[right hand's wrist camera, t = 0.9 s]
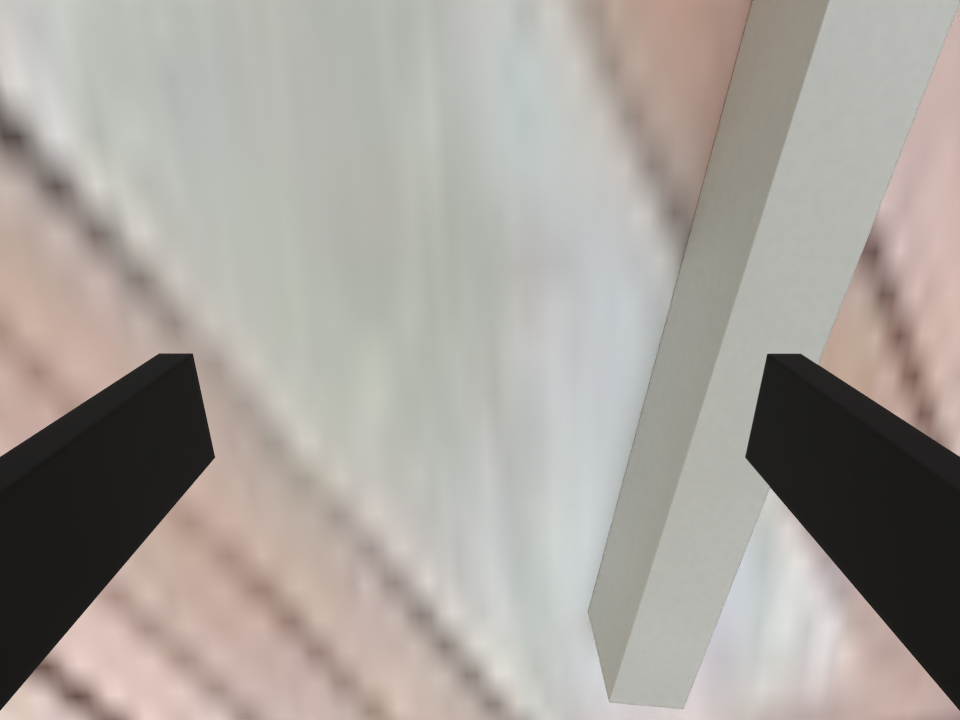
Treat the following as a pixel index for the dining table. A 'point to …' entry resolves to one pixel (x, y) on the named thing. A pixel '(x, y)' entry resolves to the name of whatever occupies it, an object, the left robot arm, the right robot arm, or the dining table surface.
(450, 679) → the dining table surface
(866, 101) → the beam
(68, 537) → the right robot arm
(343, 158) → the dining table surface
